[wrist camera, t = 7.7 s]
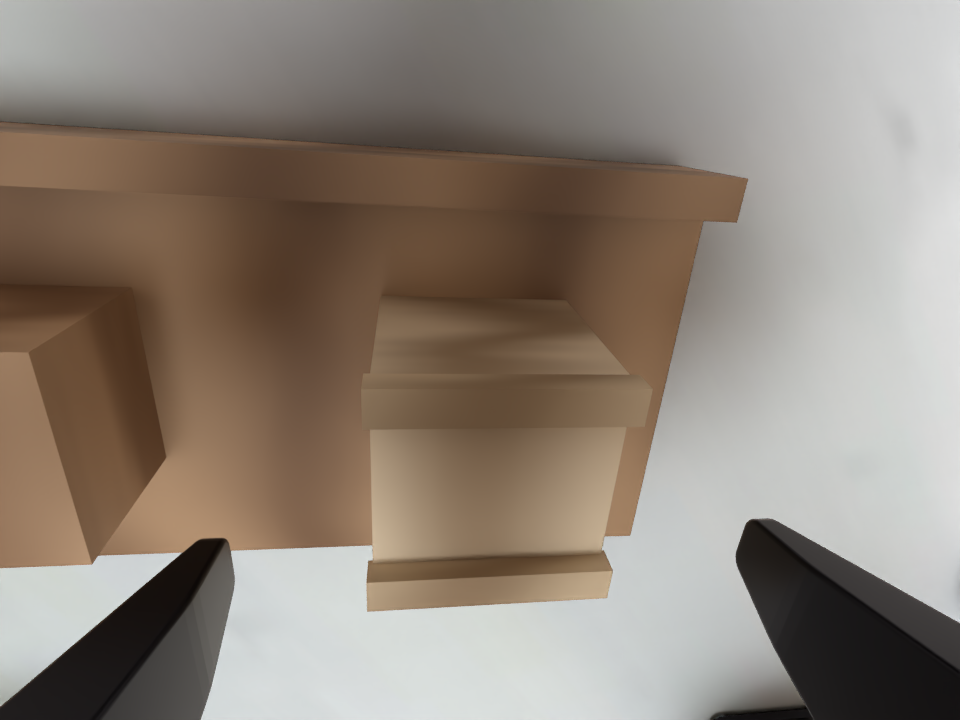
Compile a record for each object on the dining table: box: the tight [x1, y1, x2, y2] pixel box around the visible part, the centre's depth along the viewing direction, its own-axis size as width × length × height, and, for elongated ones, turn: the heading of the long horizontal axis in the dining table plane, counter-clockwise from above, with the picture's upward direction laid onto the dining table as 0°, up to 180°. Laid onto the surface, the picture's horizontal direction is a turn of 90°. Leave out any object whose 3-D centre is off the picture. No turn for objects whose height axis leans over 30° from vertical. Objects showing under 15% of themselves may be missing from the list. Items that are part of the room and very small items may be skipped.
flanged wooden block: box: [361, 296, 653, 612], centre depth 13 cm, size 5×5×6 cm
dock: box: [0, 122, 748, 556], centre depth 15 cm, size 20×12×4 cm, turn 86°
